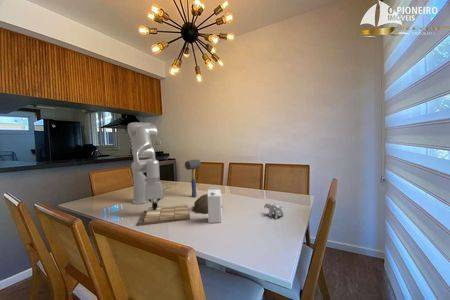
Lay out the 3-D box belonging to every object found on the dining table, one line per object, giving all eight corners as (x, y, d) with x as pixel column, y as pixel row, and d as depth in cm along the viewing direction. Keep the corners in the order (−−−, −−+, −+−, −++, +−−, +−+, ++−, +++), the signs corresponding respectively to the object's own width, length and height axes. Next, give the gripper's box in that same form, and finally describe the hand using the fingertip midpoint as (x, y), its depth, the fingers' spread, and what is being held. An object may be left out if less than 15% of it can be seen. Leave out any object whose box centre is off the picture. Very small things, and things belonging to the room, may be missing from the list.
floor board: (144, 213, 133) (143, 208, 133) (188, 208, 140) (188, 204, 139) (138, 225, 114) (138, 220, 114) (190, 219, 120) (189, 214, 120)
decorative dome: (203, 203, 151) (202, 189, 151) (227, 206, 142) (227, 192, 142) (186, 211, 134) (186, 196, 134) (213, 216, 125) (212, 200, 124)
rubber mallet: (191, 199, 160) (190, 160, 158) (185, 198, 164) (183, 160, 163) (202, 195, 170) (201, 159, 168) (196, 194, 174) (195, 158, 173)
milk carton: (209, 218, 122) (208, 186, 121) (221, 217, 122) (220, 185, 121) (208, 223, 115) (207, 189, 114) (221, 222, 115) (220, 188, 113)
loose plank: (149, 209, 133) (149, 207, 133) (161, 208, 135) (161, 205, 135) (146, 217, 121) (146, 215, 121) (159, 216, 123) (159, 213, 122)
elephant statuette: (280, 220, 116) (281, 207, 115) (259, 216, 122) (260, 203, 121) (284, 215, 124) (285, 202, 123) (265, 211, 130) (265, 199, 129)
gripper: (139, 182, 123) (141, 212, 124) (165, 180, 127) (167, 209, 128) (141, 179, 131) (143, 208, 132) (166, 178, 134) (167, 206, 135)
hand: (155, 209), depth 130 cm, fingers closed
